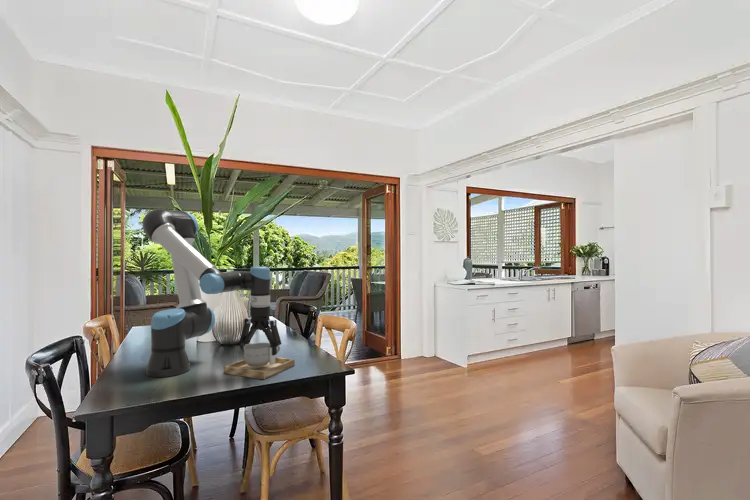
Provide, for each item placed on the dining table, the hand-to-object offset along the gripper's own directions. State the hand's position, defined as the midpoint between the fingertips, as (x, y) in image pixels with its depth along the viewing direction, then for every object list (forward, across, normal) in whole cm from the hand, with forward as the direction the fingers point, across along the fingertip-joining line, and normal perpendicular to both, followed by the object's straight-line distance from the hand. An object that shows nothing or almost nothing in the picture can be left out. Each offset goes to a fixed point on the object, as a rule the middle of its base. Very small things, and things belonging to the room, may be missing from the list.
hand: (260, 361), depth 158 cm
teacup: (+1, +1, 0) cm, 2 cm away
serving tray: (+3, 0, 0) cm, 3 cm away
